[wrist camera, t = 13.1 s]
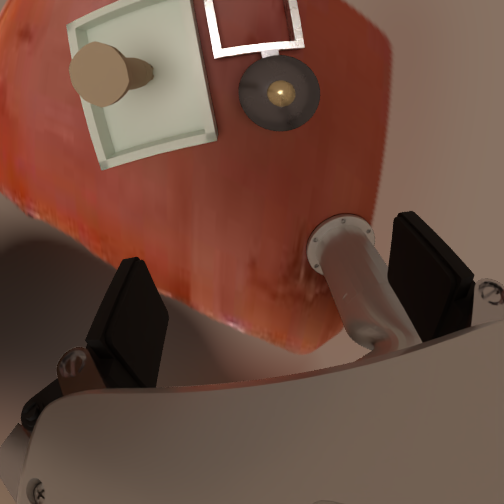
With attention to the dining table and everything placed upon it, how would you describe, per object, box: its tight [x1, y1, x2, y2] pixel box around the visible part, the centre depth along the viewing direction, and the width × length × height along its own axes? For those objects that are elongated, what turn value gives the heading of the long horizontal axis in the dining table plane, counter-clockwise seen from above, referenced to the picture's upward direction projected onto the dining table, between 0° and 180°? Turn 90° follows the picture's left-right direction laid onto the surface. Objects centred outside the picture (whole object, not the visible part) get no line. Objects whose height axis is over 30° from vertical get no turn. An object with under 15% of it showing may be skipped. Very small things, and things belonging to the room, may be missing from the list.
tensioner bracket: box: [204, 0, 320, 131], centre depth 27 cm, size 21×11×8 cm, turn 9°
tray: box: [66, 0, 218, 170], centre depth 29 cm, size 22×16×4 cm
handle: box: [69, 41, 154, 108], centre depth 24 cm, size 5×6×15 cm
